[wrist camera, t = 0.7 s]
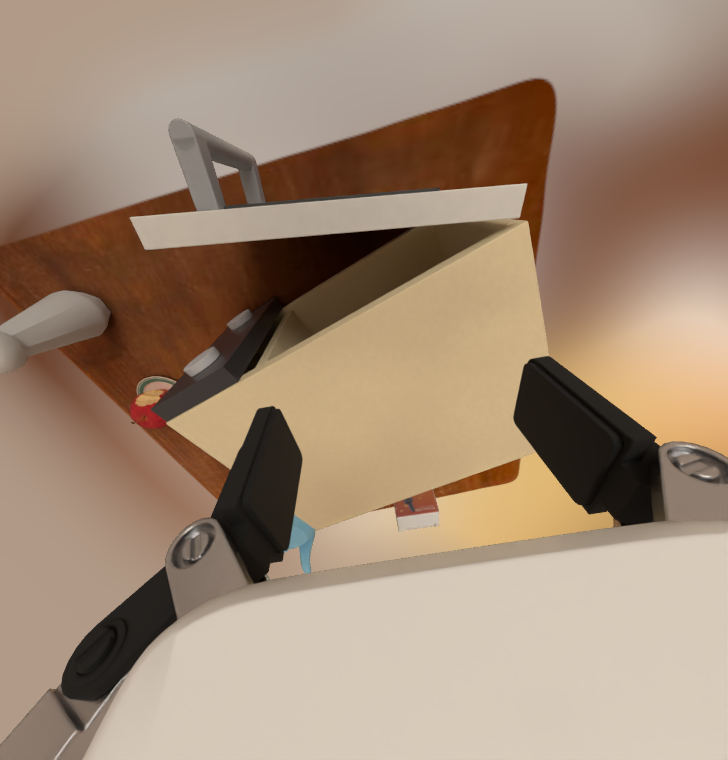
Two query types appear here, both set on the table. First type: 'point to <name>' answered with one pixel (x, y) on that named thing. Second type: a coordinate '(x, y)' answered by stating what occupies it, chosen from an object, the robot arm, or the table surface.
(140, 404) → the apple
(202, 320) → the table surface
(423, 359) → the microwave
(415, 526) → the small box
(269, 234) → the microwave door
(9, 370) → the salt shaker
